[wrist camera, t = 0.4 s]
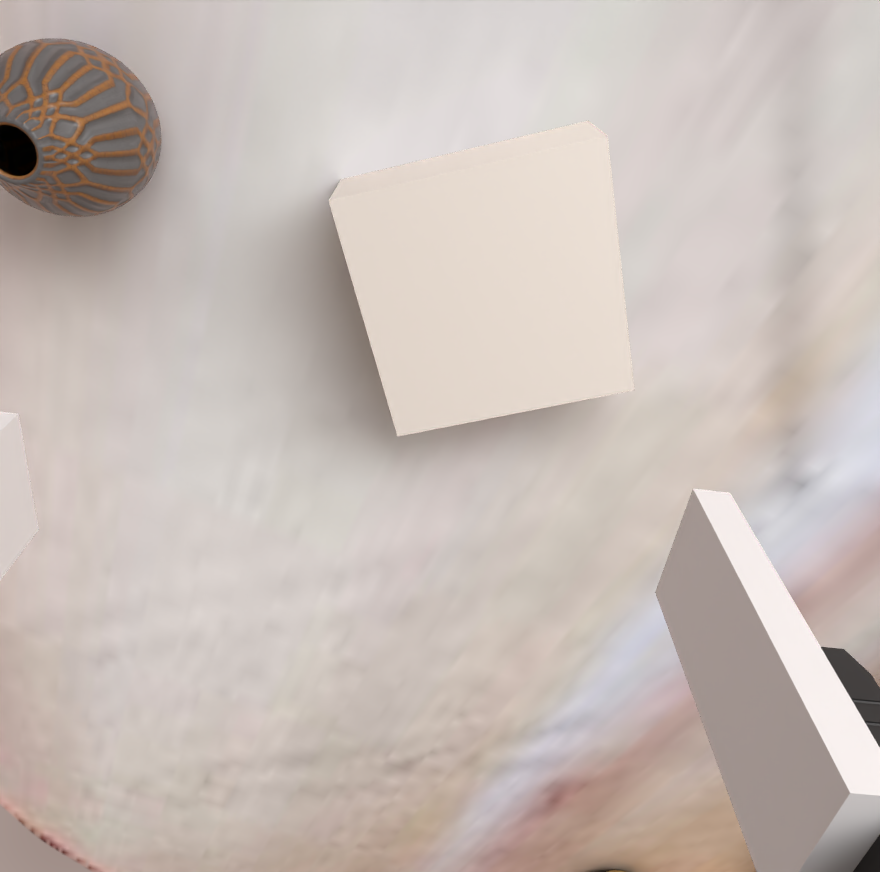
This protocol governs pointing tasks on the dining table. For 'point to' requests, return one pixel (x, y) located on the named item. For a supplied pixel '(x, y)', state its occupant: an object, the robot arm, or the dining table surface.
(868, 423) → the dining table surface
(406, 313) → the riser block
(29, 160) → the vase
